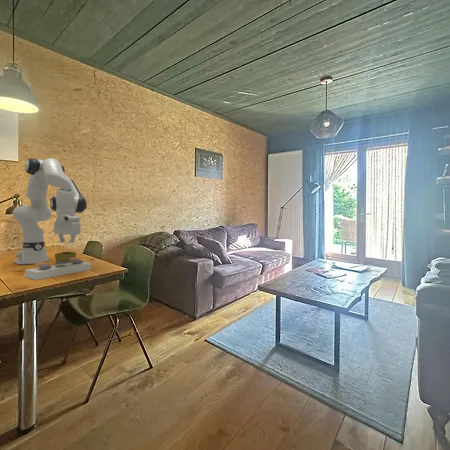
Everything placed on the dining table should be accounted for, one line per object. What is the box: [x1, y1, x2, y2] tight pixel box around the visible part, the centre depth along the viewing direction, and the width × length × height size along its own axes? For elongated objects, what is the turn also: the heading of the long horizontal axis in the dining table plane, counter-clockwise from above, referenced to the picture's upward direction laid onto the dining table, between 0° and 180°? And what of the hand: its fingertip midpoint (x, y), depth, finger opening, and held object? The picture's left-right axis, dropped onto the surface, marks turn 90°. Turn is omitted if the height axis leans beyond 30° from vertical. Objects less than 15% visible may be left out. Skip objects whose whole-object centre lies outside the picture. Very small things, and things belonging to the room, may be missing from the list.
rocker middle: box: [52, 260, 68, 266], centre depth 151 cm, size 8×4×1 cm, turn 60°
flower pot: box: [54, 251, 77, 265], centre depth 170 cm, size 9×9×9 cm
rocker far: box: [69, 257, 84, 264], centre depth 159 cm, size 8×4×1 cm, turn 60°
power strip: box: [24, 261, 92, 281], centre depth 153 cm, size 12×34×4 cm, turn 150°
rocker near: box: [34, 262, 52, 269], centre depth 143 cm, size 8×4×1 cm, turn 60°
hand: (67, 242), depth 148 cm, fingers open, 8 cm apart
